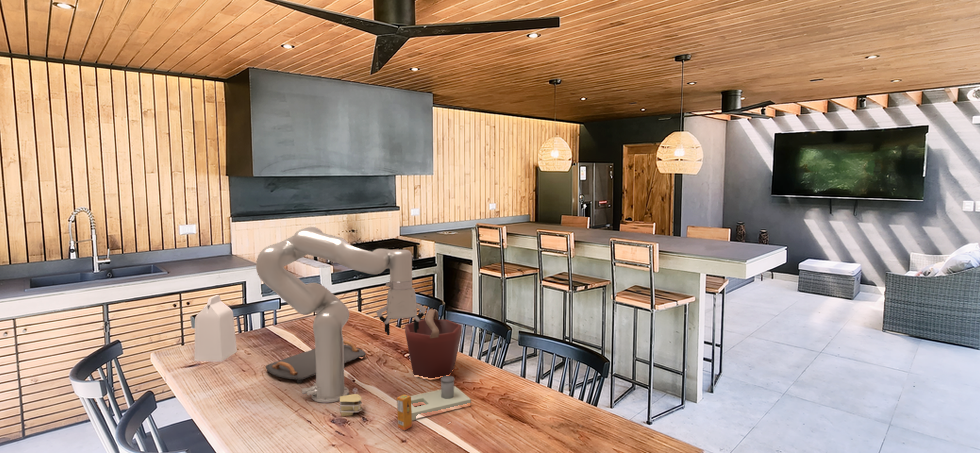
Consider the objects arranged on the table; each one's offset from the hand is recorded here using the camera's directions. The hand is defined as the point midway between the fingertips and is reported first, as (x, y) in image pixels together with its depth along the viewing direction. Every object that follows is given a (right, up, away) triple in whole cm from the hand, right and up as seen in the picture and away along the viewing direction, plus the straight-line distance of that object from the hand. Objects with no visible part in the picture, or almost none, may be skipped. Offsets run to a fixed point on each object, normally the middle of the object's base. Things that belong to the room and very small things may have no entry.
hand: (401, 332), depth 175 cm
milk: (-86, -18, +38) cm, 96 cm away
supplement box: (+4, -25, -20) cm, 33 cm away
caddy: (+12, -24, -6) cm, 27 cm away
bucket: (+7, -21, +24) cm, 33 cm away
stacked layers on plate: (-15, -25, -12) cm, 31 cm away
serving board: (-40, -20, +30) cm, 54 cm away
